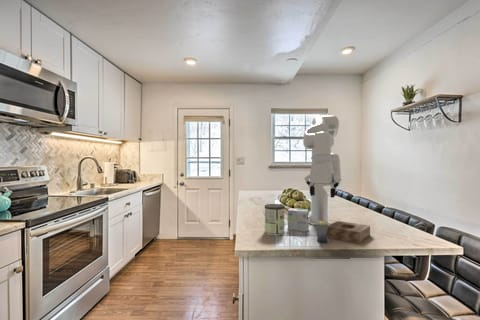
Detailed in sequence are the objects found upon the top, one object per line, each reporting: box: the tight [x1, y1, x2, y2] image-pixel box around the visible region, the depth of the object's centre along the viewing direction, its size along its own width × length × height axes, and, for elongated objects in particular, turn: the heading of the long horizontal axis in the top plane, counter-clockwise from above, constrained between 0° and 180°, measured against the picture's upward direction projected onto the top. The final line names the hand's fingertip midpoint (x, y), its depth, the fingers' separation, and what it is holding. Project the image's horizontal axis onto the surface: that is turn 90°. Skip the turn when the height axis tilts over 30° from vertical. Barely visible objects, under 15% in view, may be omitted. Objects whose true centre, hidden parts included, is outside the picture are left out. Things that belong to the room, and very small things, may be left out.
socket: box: [327, 220, 371, 244], centre depth 130 cm, size 16×16×5 cm
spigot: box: [316, 221, 328, 244], centre depth 122 cm, size 4×4×9 cm
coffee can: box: [264, 203, 286, 236], centre depth 137 cm, size 10×10×14 cm
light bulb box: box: [287, 207, 310, 232], centre depth 144 cm, size 11×7×11 cm, turn 71°
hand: (322, 196), depth 122 cm, fingers open, 9 cm apart
